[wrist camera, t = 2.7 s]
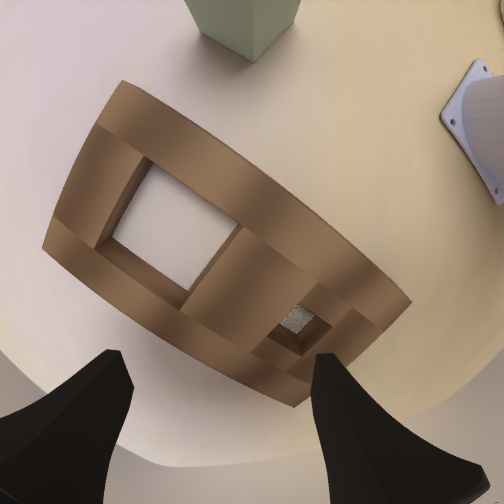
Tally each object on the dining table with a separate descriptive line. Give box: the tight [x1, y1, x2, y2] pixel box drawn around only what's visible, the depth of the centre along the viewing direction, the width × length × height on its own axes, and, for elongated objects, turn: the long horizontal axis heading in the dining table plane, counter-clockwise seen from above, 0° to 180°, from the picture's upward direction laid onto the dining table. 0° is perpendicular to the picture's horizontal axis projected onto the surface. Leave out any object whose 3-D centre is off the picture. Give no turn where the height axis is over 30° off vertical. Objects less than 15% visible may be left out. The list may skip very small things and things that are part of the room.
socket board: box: [42, 80, 412, 408], centre depth 17 cm, size 22×12×2 cm, turn 53°
